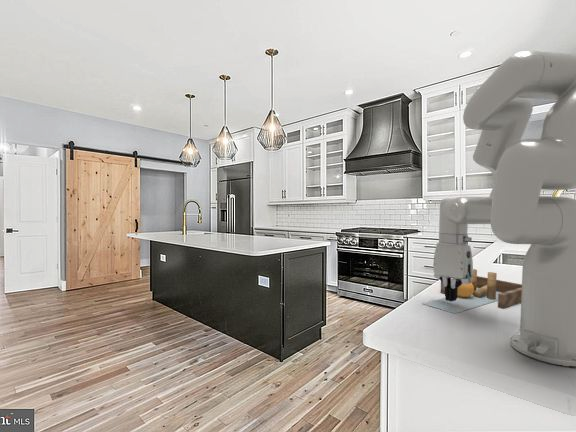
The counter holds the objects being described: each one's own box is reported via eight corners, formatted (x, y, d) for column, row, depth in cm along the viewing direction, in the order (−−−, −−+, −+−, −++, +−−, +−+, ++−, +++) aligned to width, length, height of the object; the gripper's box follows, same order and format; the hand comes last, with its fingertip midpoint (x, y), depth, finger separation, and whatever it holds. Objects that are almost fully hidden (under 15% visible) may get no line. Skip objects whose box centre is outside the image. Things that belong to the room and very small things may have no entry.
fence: (503, 308, 92) (503, 295, 92) (440, 292, 108) (440, 281, 108) (532, 298, 103) (533, 286, 102) (471, 285, 119) (471, 275, 119)
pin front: (480, 291, 101) (491, 285, 106) (472, 290, 103) (484, 284, 108) (481, 298, 101) (492, 292, 106) (473, 297, 103) (485, 291, 108)
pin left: (473, 295, 105) (474, 270, 105) (466, 294, 107) (467, 269, 107) (477, 294, 106) (478, 269, 106) (470, 293, 108) (471, 268, 108)
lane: (454, 313, 86) (454, 313, 86) (422, 304, 95) (422, 303, 95) (514, 295, 106) (514, 295, 106) (482, 288, 114) (482, 288, 114)
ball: (478, 295, 102) (472, 298, 98) (459, 296, 106) (452, 299, 102) (473, 276, 103) (467, 279, 99) (455, 278, 108) (448, 281, 103)
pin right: (493, 300, 100) (494, 274, 100) (485, 298, 102) (486, 272, 102) (497, 299, 101) (498, 273, 101) (489, 297, 103) (490, 271, 103)
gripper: (485, 241, 89) (483, 305, 90) (436, 236, 102) (435, 292, 103) (471, 242, 85) (469, 309, 86) (422, 237, 98) (421, 295, 99)
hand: (450, 300), depth 94 cm, fingers closed
